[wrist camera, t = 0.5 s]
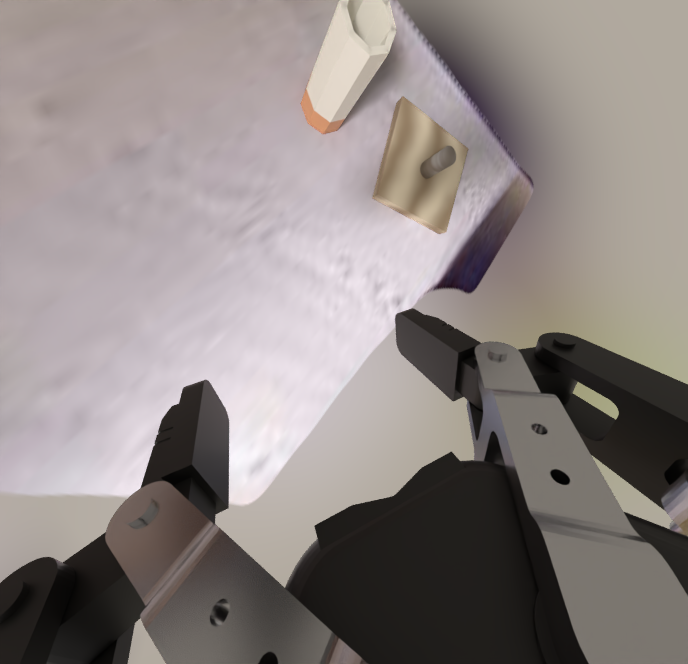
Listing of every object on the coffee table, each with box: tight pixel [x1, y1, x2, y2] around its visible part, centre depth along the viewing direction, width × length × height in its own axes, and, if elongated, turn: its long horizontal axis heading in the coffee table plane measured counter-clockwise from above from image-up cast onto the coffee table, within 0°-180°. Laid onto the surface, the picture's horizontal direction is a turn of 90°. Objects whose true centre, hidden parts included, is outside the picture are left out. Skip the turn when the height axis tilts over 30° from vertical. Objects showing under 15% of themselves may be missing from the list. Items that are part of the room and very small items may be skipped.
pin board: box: [373, 97, 468, 234], centre depth 37 cm, size 14×14×6 cm
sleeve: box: [301, 0, 396, 134], centre depth 27 cm, size 5×5×12 cm
